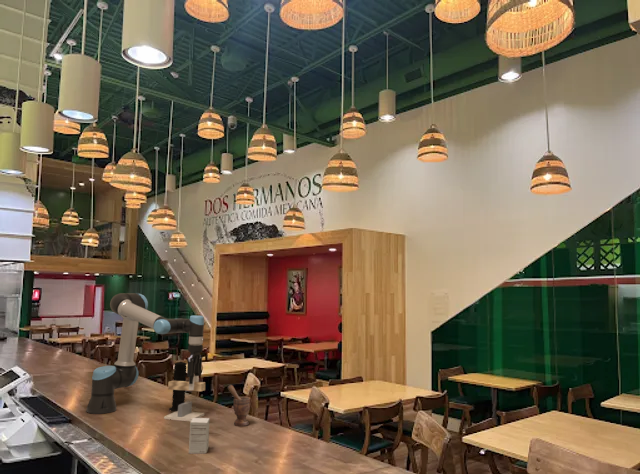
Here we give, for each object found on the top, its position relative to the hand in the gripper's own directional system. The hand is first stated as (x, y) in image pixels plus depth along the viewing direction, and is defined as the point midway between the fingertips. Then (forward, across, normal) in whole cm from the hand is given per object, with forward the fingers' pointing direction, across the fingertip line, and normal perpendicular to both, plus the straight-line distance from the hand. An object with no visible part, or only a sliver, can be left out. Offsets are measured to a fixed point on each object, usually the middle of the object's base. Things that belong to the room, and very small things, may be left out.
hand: (193, 388), depth 264 cm
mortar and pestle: (+15, -6, -28) cm, 33 cm away
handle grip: (+15, +15, +17) cm, 27 cm away
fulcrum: (+15, 0, +4) cm, 16 cm away
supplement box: (+15, -50, -29) cm, 59 cm away
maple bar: (+1, 0, +4) cm, 4 cm away
